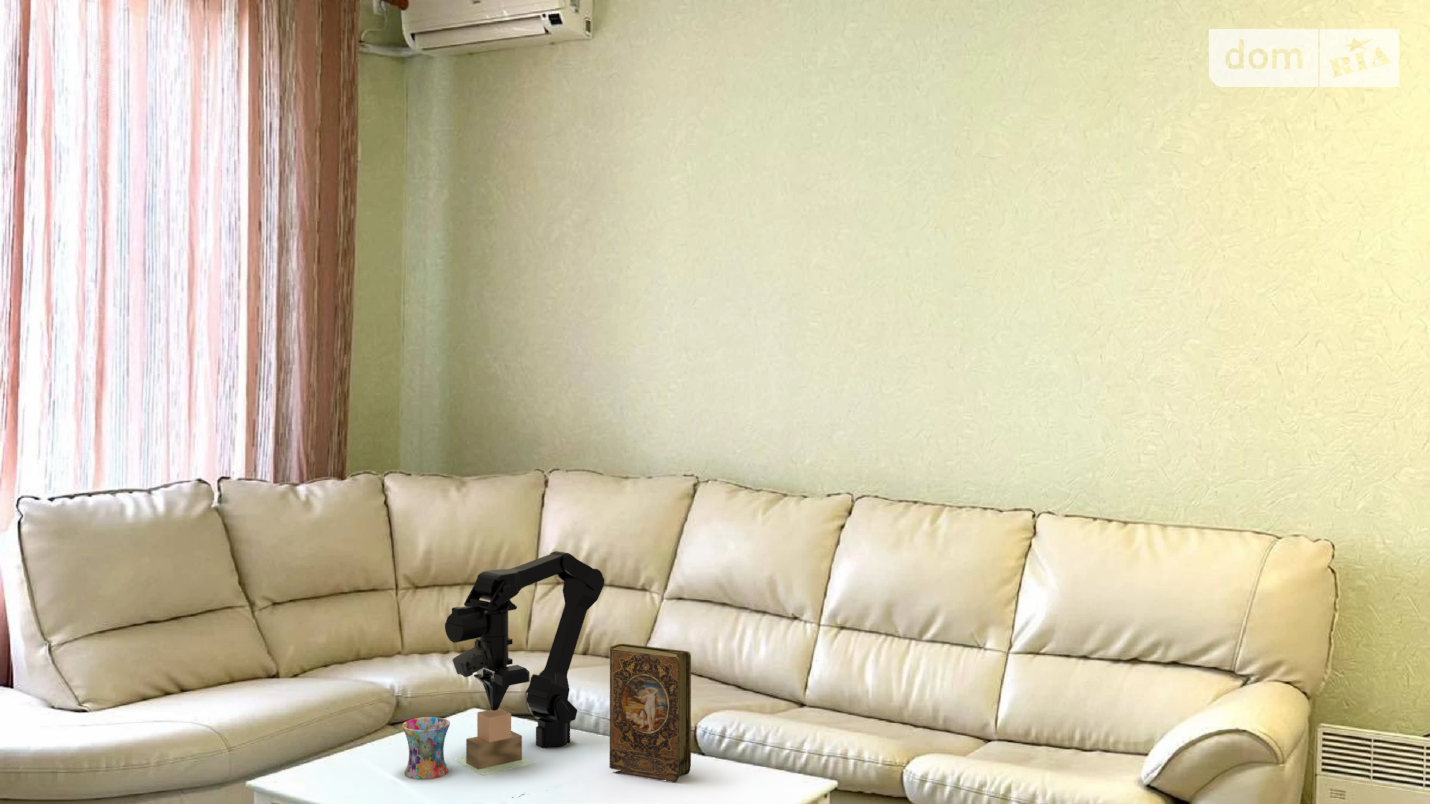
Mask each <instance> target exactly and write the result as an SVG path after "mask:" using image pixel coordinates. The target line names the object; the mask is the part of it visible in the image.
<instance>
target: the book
mask: <svg viewBox="0 0 1430 804" xmlns="http://www.w3.org/2000/svg"><path fill="white" fill-rule="evenodd" d="M691 699H692V655H691V652H690V651H689V650H681V649H671V648H663V647H655V646H647V645H638V644H629V643H618V644H614V645H612V646H610V647H609V768H610V769H611V770H615V771H612V773H613V774H620V775H624V776H625V775H626V776H629V777H630V776H631V777H638V778H642V777H643V779H648V778H650V780H656V781H660V780H666V781H665V782H668V781H672V782H671V783H676V782H678V781H679V779H680V777H682V776H686V775H688V774H689V773H690V772H691V766H692V700H691Z"/></svg>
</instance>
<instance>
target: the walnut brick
mask: <svg viewBox="0 0 1430 804" xmlns="http://www.w3.org/2000/svg"><path fill="white" fill-rule="evenodd" d="M465 742H466V744H465V745H466V746H465V749H466V750H465V751H466V753H465V754H466V755H465V757H466V763H467V764H469V765H471V766H473V767H474V768H476V769H483V768H487V767H492V766H496V765H501V764H505V763H510V762H515V761H519V760H522V757H523V736H522V734H520V733H517V732H515V731H513V730H511V738H508V739H504V740H499V741H494V742H487V741H485V740H483V739H481V738H479V737H478V736H474V737H468V738H466V740H465Z"/></svg>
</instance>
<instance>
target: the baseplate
mask: <svg viewBox="0 0 1430 804" xmlns="http://www.w3.org/2000/svg"><path fill="white" fill-rule="evenodd" d="M454 761H455V762H457V763H458V764H461V765H462V766H464V767H465V768H468V769H470V770H471V771H473V772H475V773H478V774H479V775H481V776H485V775H489V774H494V773H499V772H504V771H508V770H511V769H517V768H521V767H527V766H529V765H530V766H531V765H534V764H536V762H533V761H532V760H529V759H527V758H525V757H523V756H522V760H519V761H515V762H510V763H505V764H501V765H496V766H492V767H487V768H483V769H476V768H474V767H473V766H471V765H469V764H467V763H466V756H464V757H459V758H455V759H454Z"/></svg>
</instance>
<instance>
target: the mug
mask: <svg viewBox="0 0 1430 804" xmlns="http://www.w3.org/2000/svg"><path fill="white" fill-rule="evenodd" d="M450 725H451V721H449V719H447V718H444V717H438V716H425V717H424V716H423V717H416V718H412V719H408V720H406V721H404V722H403V723H402V725H401V727H402V730H403V733H404V734H405V738H406V741H407V744H408V745H407V746H408V761H407V766H406V767H405V770H404V775H405V777H406V778H408V779H412V780H421V781H423V780H433V779H438V778H441V777H444V776H445V775H447V774H448V773H449V768H448V766H447V764H446V761H445V753H444V747H445V740H446V736H447V733H448V729H449V728H450Z"/></svg>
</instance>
